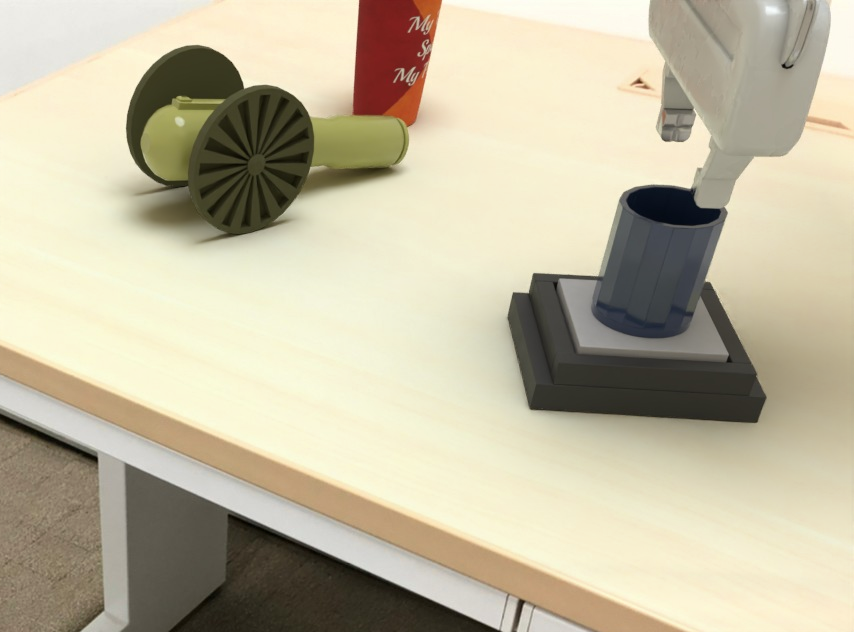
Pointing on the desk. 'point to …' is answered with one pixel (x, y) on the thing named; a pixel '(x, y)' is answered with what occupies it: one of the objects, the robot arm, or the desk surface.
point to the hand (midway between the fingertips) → (688, 168)
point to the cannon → (243, 139)
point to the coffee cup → (393, 56)
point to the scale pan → (602, 340)
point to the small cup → (656, 261)
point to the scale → (627, 367)
